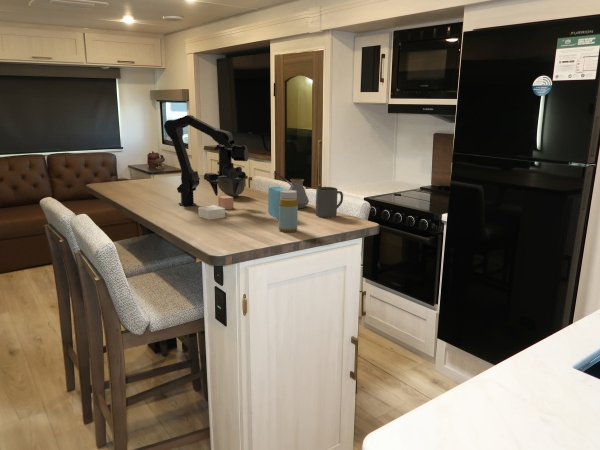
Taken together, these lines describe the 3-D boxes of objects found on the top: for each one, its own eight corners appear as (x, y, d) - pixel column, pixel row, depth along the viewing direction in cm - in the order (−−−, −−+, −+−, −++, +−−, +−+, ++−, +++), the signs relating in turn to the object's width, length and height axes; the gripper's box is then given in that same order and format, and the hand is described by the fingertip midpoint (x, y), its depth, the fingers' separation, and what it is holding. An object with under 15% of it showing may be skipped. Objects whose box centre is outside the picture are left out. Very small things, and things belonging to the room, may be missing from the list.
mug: (324, 219, 198) (325, 190, 195) (311, 215, 205) (312, 187, 202) (348, 215, 205) (350, 188, 203) (335, 211, 213) (336, 185, 210)
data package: (288, 218, 197) (288, 190, 194) (278, 219, 195) (278, 190, 192) (277, 212, 208) (278, 185, 205) (268, 213, 206) (268, 186, 203)
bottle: (278, 228, 181) (278, 189, 178) (296, 228, 182) (297, 189, 178) (279, 232, 174) (279, 192, 171) (297, 232, 175) (298, 192, 171)
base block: (198, 216, 198) (198, 207, 197) (215, 214, 203) (215, 205, 202) (208, 220, 192) (208, 210, 191) (225, 217, 197) (225, 208, 196)
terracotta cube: (218, 207, 217) (218, 196, 215) (228, 206, 220) (228, 195, 218) (223, 209, 213) (223, 198, 212) (233, 208, 216) (233, 197, 215)
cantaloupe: (242, 193, 252) (241, 165, 248) (247, 198, 239) (247, 168, 235) (215, 194, 248) (214, 166, 244) (219, 199, 235) (219, 169, 231)
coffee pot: (313, 207, 221) (314, 175, 218) (296, 210, 213) (297, 177, 210) (283, 200, 236) (283, 170, 232) (265, 203, 228) (265, 172, 224)
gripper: (215, 163, 199) (215, 199, 203) (252, 161, 210) (252, 195, 214) (203, 160, 208) (203, 195, 211) (239, 158, 219) (239, 191, 223)
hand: (225, 194), depth 215 cm, fingers open, 9 cm apart
